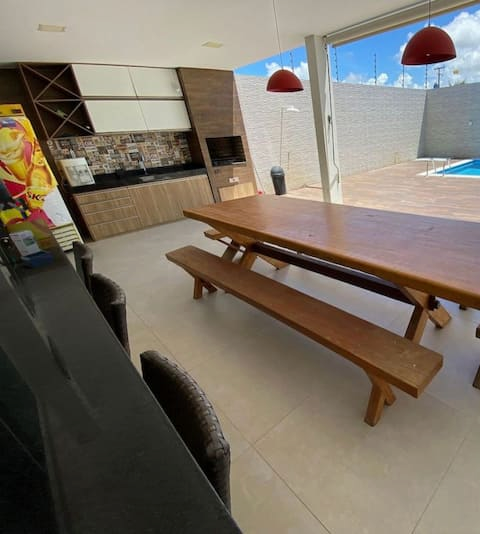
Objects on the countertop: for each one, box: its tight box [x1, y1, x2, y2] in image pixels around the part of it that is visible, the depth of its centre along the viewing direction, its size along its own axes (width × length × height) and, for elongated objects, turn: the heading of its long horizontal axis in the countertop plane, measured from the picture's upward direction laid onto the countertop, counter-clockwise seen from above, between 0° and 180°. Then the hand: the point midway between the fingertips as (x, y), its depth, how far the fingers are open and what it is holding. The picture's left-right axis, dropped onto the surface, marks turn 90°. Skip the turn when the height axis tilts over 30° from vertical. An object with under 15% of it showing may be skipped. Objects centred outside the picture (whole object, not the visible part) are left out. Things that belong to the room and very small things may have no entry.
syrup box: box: [9, 229, 44, 257], centre depth 153 cm, size 6×6×14 cm
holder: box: [20, 250, 55, 269], centre depth 148 cm, size 8×8×5 cm
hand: (14, 222), depth 148 cm, fingers open, 8 cm apart
